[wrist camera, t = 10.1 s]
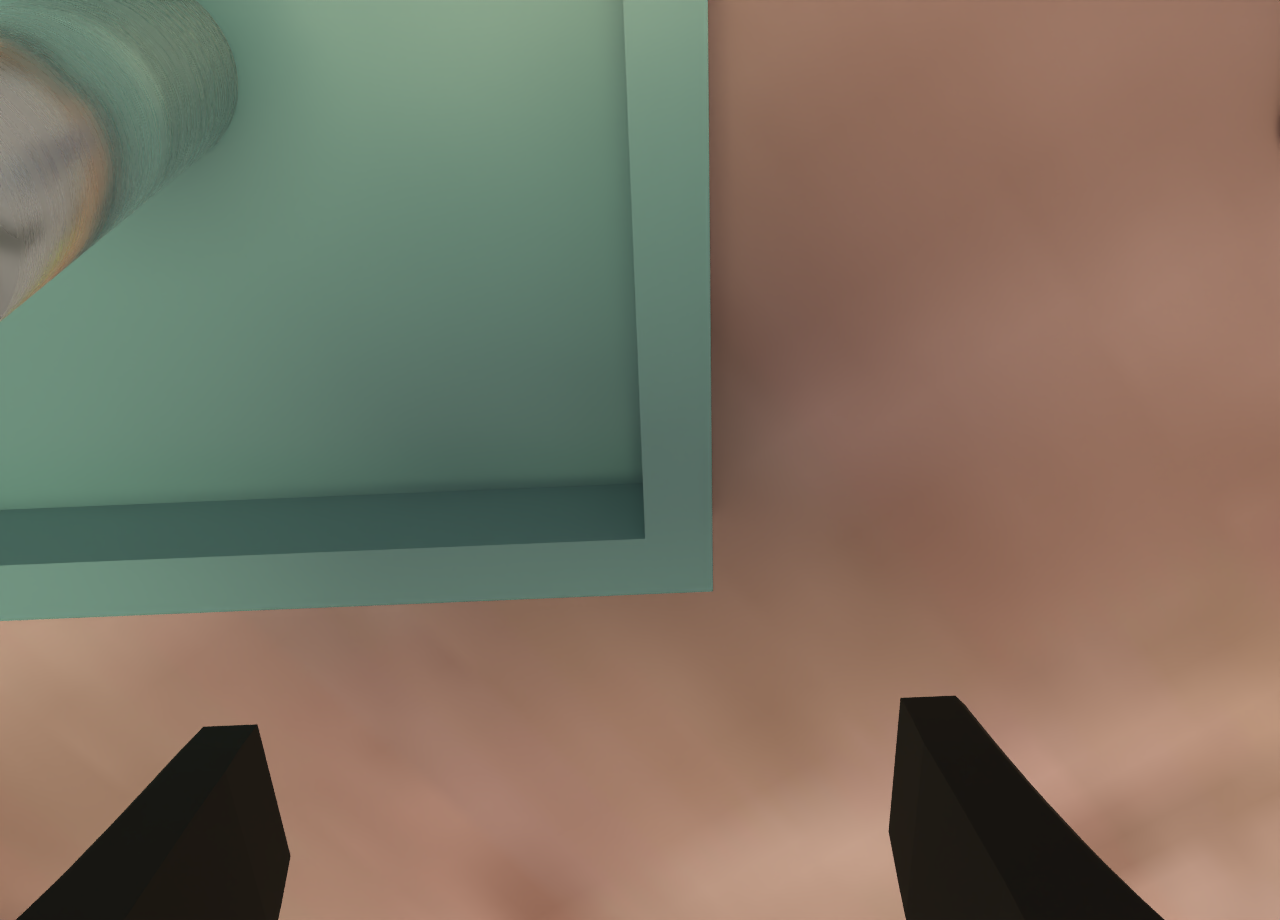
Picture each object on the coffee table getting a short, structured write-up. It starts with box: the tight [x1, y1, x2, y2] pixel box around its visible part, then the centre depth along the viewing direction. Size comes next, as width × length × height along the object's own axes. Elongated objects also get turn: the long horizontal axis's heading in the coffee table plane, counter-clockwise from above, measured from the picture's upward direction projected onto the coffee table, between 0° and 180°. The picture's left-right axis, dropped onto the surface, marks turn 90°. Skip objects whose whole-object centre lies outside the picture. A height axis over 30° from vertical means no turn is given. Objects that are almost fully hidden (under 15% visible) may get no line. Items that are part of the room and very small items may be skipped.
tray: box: [0, 0, 713, 621], centre depth 18 cm, size 18×18×3 cm
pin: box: [0, 0, 238, 322], centre depth 15 cm, size 3×3×8 cm
